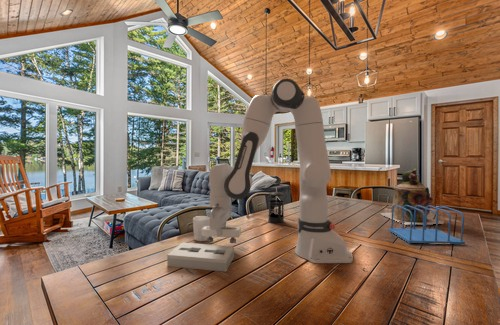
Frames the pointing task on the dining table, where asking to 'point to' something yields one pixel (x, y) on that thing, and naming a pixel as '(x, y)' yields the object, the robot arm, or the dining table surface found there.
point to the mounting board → (201, 256)
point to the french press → (276, 217)
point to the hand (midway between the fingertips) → (221, 233)
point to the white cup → (200, 227)
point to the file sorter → (426, 234)
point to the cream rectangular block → (226, 232)
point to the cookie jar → (411, 200)
